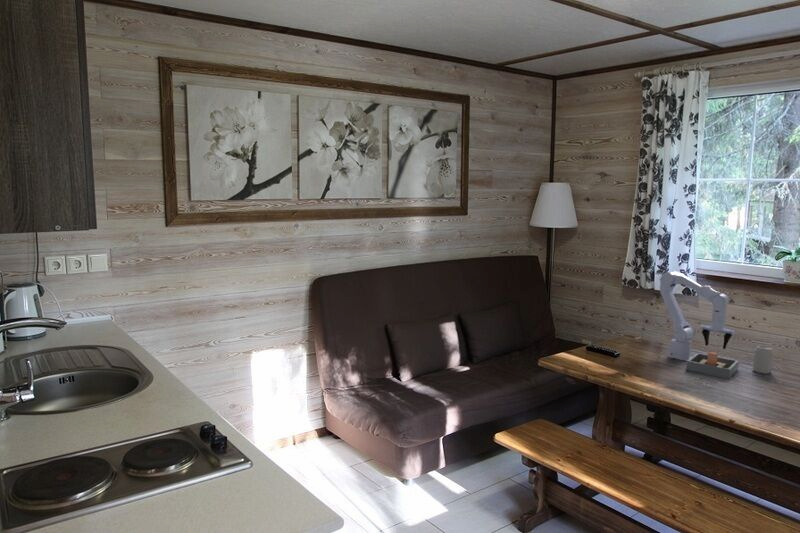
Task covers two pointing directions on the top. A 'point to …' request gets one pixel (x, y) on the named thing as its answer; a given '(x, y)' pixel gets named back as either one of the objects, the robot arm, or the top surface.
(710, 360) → the peg
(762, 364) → the can
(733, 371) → the box
